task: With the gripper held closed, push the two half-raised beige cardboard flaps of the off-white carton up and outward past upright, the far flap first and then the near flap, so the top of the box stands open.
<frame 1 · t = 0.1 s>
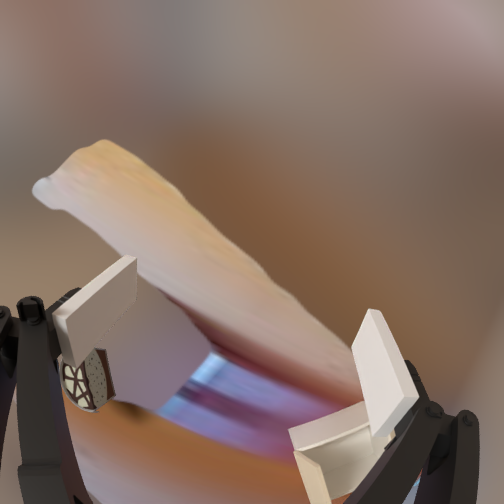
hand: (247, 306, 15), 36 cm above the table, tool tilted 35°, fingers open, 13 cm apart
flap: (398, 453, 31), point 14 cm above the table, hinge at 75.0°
carton: (334, 443, 44), on the table
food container: (98, 373, 47), on the table
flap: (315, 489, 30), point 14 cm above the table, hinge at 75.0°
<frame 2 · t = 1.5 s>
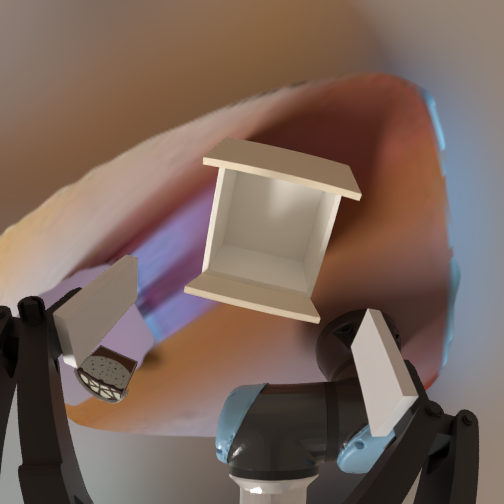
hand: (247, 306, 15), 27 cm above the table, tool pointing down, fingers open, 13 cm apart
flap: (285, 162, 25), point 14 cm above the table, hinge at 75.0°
carton: (274, 205, 40), on the table
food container: (119, 362, 55), on the table
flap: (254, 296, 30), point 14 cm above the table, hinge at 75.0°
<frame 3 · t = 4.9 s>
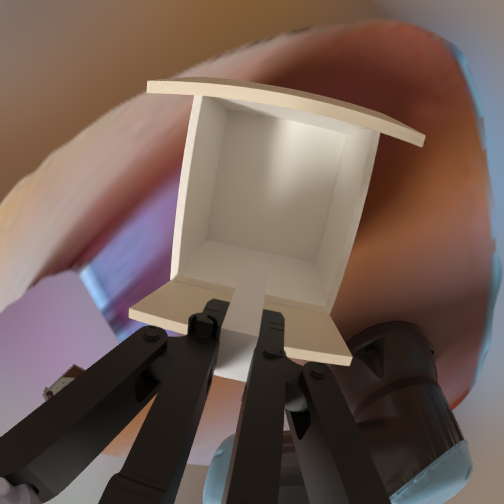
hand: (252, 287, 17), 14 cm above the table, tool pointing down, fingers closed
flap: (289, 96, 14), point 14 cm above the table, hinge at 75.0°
carton: (274, 186, 29), on the table
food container: (96, 383, 44), on the table
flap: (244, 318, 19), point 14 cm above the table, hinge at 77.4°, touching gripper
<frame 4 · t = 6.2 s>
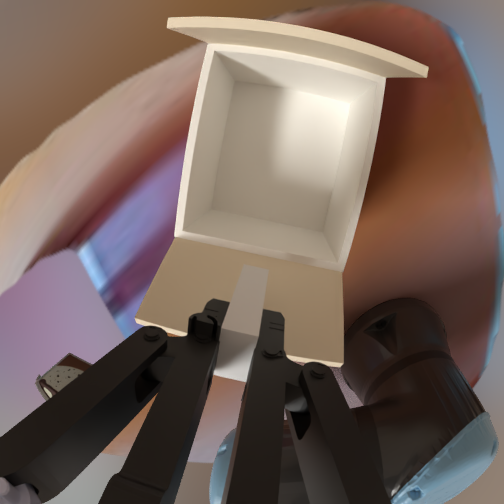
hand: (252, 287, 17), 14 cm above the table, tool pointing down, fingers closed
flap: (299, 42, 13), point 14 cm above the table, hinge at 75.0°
carton: (280, 154, 28), on the table
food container: (91, 373, 43), on the table
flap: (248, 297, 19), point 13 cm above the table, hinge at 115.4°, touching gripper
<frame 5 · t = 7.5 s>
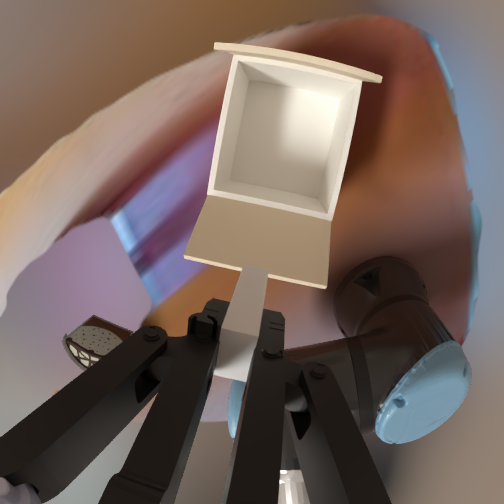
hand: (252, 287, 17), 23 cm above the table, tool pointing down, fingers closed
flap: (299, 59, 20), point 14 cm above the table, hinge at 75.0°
carton: (284, 137, 35), on the table
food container: (113, 334, 51), on the table
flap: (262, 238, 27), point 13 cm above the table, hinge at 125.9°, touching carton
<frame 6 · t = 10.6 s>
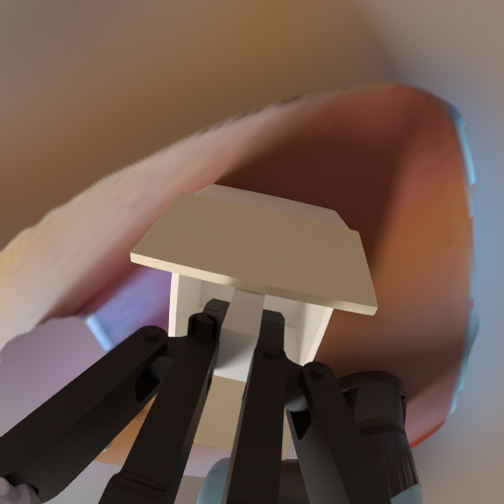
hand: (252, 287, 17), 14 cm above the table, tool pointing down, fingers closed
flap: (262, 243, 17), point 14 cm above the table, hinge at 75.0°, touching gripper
carton: (259, 262, 32), on the table
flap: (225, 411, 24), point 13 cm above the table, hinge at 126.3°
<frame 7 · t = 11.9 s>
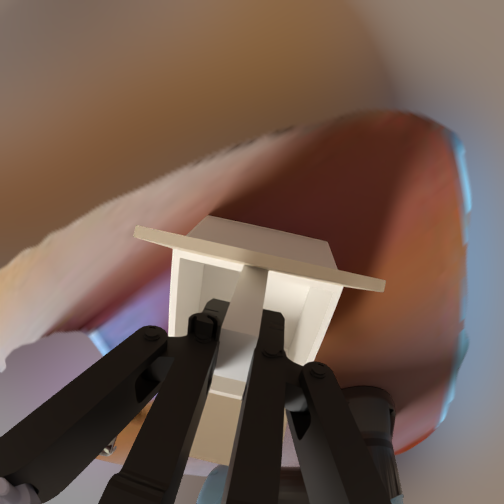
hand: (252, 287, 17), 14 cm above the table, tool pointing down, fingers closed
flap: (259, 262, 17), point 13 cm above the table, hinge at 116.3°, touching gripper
carton: (253, 289, 33), on the table
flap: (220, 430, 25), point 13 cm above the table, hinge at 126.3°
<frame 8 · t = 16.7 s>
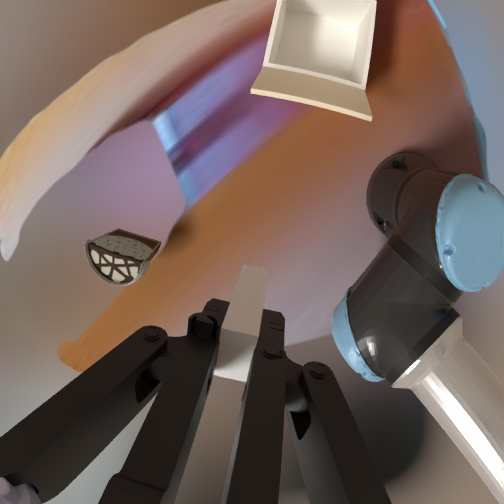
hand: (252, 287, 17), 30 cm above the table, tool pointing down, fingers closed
carton: (316, 51, 36), on the table
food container: (137, 249, 52), on the table
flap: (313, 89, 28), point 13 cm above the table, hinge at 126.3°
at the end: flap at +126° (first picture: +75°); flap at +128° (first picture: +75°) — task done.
